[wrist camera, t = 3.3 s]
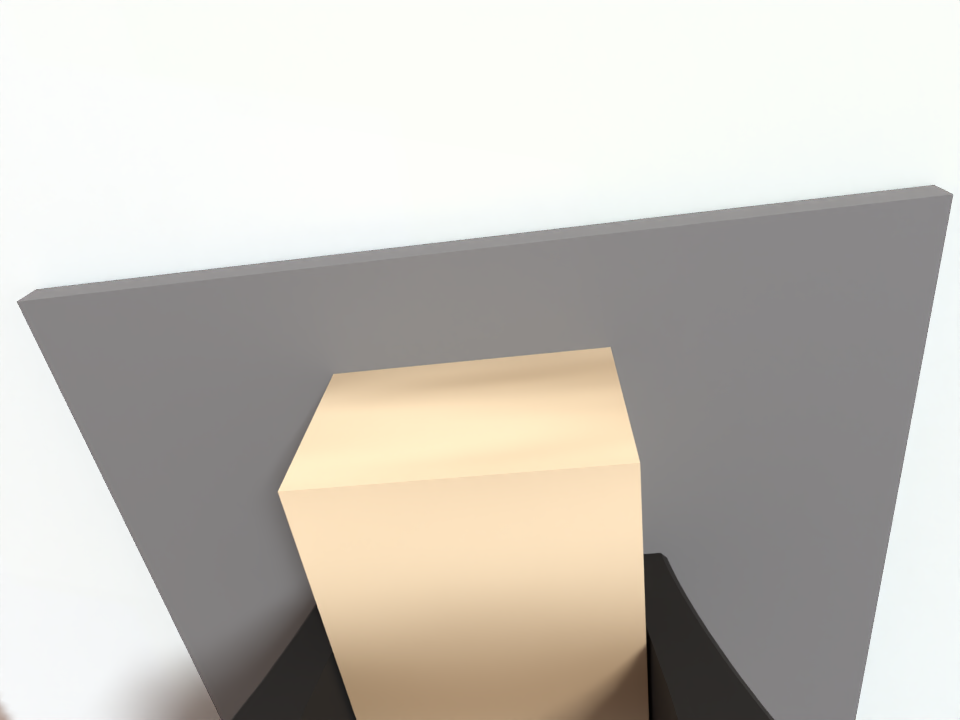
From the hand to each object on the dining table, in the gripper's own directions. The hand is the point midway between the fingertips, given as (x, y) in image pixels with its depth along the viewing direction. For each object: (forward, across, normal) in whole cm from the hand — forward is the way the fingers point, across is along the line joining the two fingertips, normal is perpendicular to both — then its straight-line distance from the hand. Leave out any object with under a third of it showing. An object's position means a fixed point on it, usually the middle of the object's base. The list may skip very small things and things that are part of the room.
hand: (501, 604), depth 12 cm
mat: (+1, 0, +6) cm, 6 cm away
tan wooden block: (+1, 0, 0) cm, 1 cm away
